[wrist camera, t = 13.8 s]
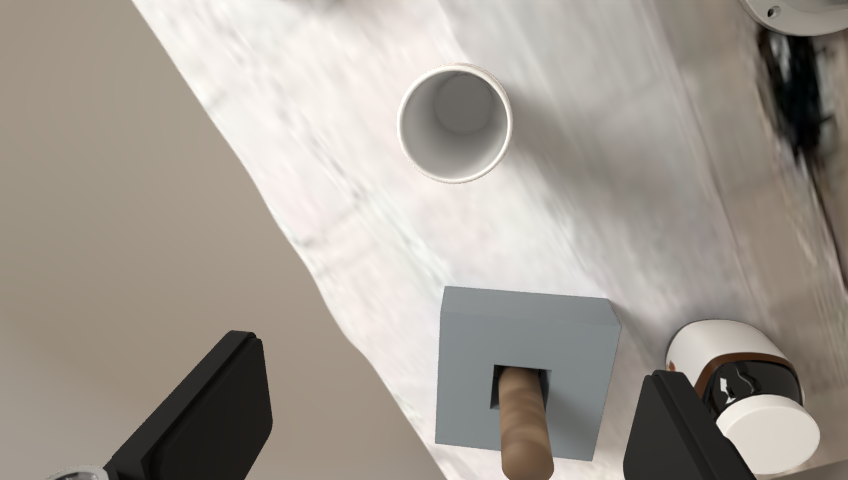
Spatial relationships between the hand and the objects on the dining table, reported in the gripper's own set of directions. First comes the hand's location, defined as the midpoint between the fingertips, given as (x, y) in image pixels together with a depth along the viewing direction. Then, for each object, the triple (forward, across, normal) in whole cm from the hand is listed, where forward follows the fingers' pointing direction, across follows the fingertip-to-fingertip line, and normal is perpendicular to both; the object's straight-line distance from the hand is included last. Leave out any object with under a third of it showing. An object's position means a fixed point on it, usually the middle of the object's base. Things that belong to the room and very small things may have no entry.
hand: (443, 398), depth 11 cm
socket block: (+32, -6, +22) cm, 40 cm away
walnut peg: (+32, -6, +22) cm, 40 cm away
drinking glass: (+32, +1, -4) cm, 33 cm away
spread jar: (+33, -26, +20) cm, 46 cm away
